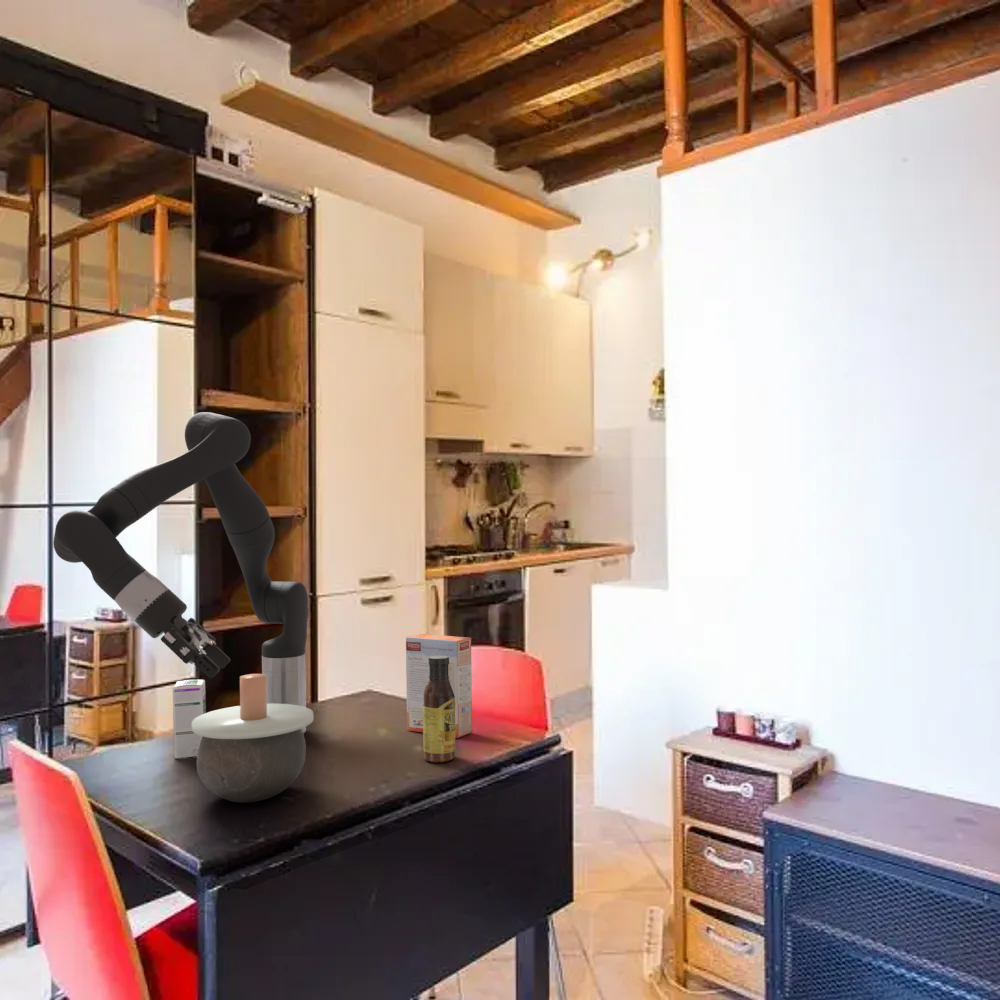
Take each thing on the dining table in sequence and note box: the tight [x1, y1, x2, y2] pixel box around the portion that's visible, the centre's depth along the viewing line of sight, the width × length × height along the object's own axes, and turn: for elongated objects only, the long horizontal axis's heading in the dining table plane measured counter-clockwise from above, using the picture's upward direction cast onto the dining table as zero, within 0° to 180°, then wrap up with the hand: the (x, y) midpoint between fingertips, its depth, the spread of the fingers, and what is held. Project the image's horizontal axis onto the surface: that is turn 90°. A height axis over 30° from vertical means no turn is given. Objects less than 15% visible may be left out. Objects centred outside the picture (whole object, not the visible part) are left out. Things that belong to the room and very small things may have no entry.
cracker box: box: [405, 633, 473, 739], centre depth 183 cm, size 14×6×21 cm, turn 58°
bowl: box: [195, 729, 307, 804], centre depth 144 cm, size 18×18×13 cm
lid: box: [192, 673, 314, 739], centre depth 144 cm, size 20×20×8 cm
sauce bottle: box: [422, 656, 456, 763], centre depth 164 cm, size 7×6×20 cm
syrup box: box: [171, 679, 207, 759], centre depth 169 cm, size 6×6×14 cm
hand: (221, 669), depth 143 cm, fingers open, 8 cm apart
